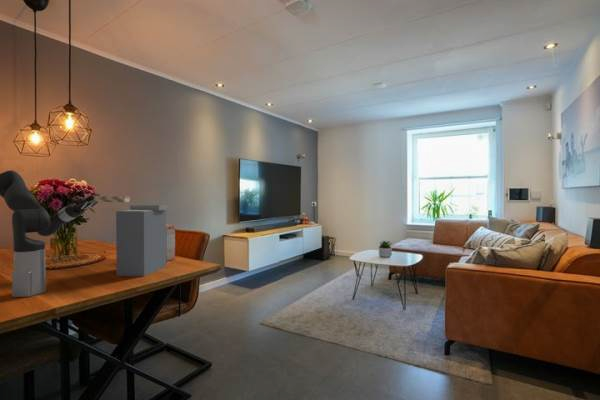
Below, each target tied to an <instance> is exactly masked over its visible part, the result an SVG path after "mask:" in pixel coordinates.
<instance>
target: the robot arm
mask: <svg viewBox="0 0 600 400" xmlns="http://www.w3.org/2000/svg"><path fill="white" fill-rule="evenodd" d="M88 196H89V197H87V198H85V197H84V198H79V199H78V200H75V201H73V202H71V203H69V204H68V205H66V206H64V207H63V208H61V209H60V210H58V211H57V212H55V213H54V214H52V216H51V215H50V214H49V213H48V211H47V210H46V209H45V208H44V207H43V206H42V205H41V204H40V203H39V202H38V201H37V199H36V198H35V196H34V195H33V193H32V191H30V189H29V188H28V187H27V185H26V183H25V181H24V179H23V177H22V176H21V175H20V173H18V172H17V171H15V170H11V169H10V170H6V171H3V172H1V173H0V197H1V198H3V199H4V202H5V204H6V206H7V207H8V208H9V209H10V210H11V211H13V212H12V216H11V226H12V237H13V240H12V241H13V271H12V272H11V285H12V286H11V294H12V298H18V297H19V298H23V297H24V298H25V297H26V298H27V297H33V296H36V295H40V294H43V293H45V292H46V287H47V286H46V284H47V283H46V282H47V281H46V277H47V276H46V275H47V274H46V243H45V241H43V240H40V239H39V240H37V239H33V238H29V237H28V236H27V235H26V234H29V233H37V234H38V235H39V236H42V237H49V236H51V235H53V234H54V233H56V232H57V231H58V230H59V229H60V228H61V227H62V226H64V225H66V224H67V223H69V222H70V221H72V220H74V219H76V218H78V217H80V216H81V215H83V214H85V210H86V209H88V208H89V207H91V208H93V207H95V206H96V205H97V204H98V203H99V202H89V201H91V200H93V199H94V198H95V197H94V196H95V194H90V195H88ZM96 196H101V195H100V194H97V195H96Z"/></svg>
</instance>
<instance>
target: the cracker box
mask: <svg viewBox="0 0 600 400" xmlns="http://www.w3.org/2000/svg"><path fill="white" fill-rule="evenodd" d="M175 259H176V225H174V224H167V223H166V262H170V261H174V260H175Z"/></svg>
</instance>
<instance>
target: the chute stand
mask: <svg viewBox="0 0 600 400" xmlns="http://www.w3.org/2000/svg"><path fill="white" fill-rule="evenodd" d="M168 207H169V206H168V204H159V205H158V204H137V205H134V204H131V205H129V209H125V210H116V211H115V217H116V219H115V222H116V223H115V225H116V226H115V228H116V231H115V233H116V234H115V235H116V236H115V237H116V241H115V242H116V244H115V246H116V247H115V248H116V254H115V255H116V276H119V277H120V276H121V277H122V276H123V277H125V276H126V277H128V276H129V277H146V276H148V275H150V274H153V273H156V272H158V271H159V270H162V269H164V268H166V267H167V261H166V224H167V210H168V209H169V208H168ZM165 266H166V267H165ZM163 267H164V268H163Z"/></svg>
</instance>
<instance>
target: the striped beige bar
mask: <svg viewBox="0 0 600 400" xmlns="http://www.w3.org/2000/svg"><path fill="white" fill-rule="evenodd" d="M89 196H90V195H86V196H84V198H87V197H89ZM94 197H95V198H94V199H93V200H91V201H89V202H98V203H130V201H131V199H130V195H129V196H127V195H126V196H124V195H122V196H120V195H118V196H116V195H115V196H114V195H110V196H109V195H108V196H107V195H100V196H97V195H94Z"/></svg>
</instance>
